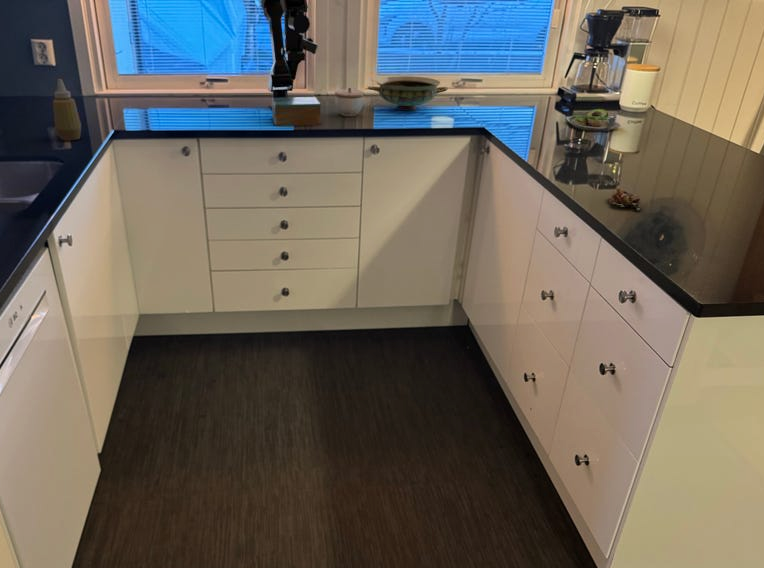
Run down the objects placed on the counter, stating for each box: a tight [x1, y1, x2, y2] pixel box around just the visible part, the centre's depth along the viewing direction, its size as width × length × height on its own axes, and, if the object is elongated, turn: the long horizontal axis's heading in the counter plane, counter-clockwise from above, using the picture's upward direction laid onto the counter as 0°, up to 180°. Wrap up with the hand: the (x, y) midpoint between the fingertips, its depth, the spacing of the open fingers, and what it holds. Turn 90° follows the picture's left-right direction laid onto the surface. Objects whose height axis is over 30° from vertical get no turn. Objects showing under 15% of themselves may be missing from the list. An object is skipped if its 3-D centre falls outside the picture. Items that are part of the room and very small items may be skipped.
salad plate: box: [565, 108, 621, 132], centre depth 240 cm, size 19×18×5 cm
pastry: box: [608, 187, 641, 212], centre depth 171 cm, size 7×12×4 cm, turn 164°
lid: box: [271, 96, 322, 107], centre depth 241 cm, size 13×16×1 cm
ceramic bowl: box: [367, 75, 449, 111], centre depth 262 cm, size 30×24×10 cm
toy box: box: [271, 100, 321, 127], centre depth 243 cm, size 12×16×6 cm
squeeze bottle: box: [52, 78, 82, 142], centre depth 216 cm, size 8×8×18 cm
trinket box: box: [334, 87, 365, 117], centre depth 253 cm, size 11×11×9 cm
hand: (293, 79), depth 243 cm, fingers closed
